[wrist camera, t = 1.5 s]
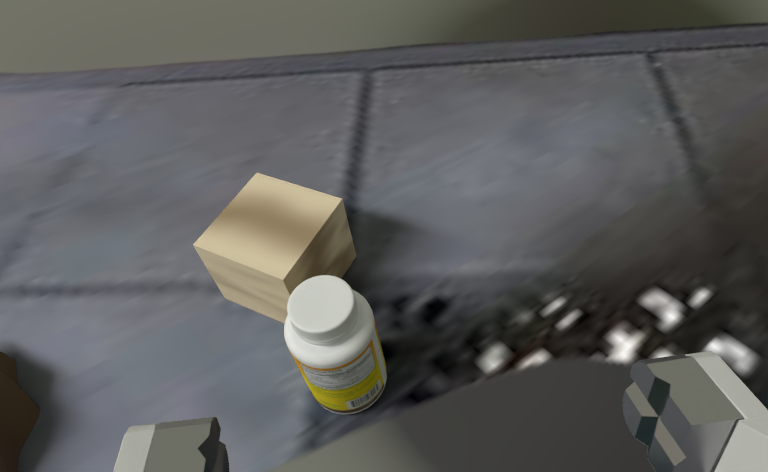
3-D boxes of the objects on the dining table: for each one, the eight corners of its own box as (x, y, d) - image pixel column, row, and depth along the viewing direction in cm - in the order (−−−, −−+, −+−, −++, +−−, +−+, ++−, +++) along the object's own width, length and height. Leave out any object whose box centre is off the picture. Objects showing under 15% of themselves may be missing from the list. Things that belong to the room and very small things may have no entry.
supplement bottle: (327, 338, 42) (296, 255, 34) (397, 354, 41) (381, 272, 33) (298, 406, 39) (256, 332, 31) (373, 427, 37) (349, 355, 30)
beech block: (279, 229, 50) (256, 172, 44) (356, 256, 47) (342, 198, 42) (225, 298, 46) (192, 244, 40) (306, 332, 43) (283, 280, 37)
